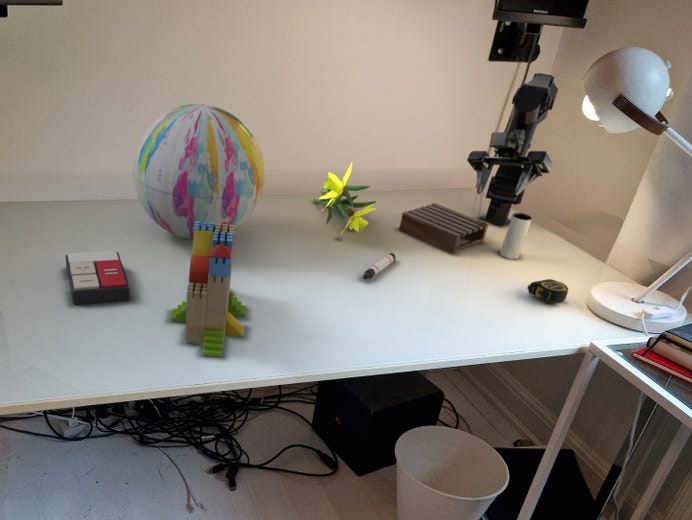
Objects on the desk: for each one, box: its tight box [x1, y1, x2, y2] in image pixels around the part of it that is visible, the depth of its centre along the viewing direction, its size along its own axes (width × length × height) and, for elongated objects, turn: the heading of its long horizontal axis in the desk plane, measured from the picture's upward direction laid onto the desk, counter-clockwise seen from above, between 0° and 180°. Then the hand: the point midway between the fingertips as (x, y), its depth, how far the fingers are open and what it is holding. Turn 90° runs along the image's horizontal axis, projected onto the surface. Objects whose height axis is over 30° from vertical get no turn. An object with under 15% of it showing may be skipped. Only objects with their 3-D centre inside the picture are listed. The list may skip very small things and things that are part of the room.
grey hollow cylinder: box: [499, 212, 533, 260], centre depth 160 cm, size 4×4×10 cm
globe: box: [132, 103, 265, 241], centre depth 149 cm, size 30×30×30 cm
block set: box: [170, 221, 247, 358], centre depth 121 cm, size 28×14×19 cm, turn 178°
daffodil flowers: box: [313, 162, 378, 235], centre depth 166 cm, size 17×15×35 cm
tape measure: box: [526, 278, 569, 304], centre depth 143 cm, size 7×7×4 cm
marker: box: [362, 252, 397, 280], centre depth 148 cm, size 15×2×2 cm, turn 145°
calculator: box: [64, 250, 130, 305], centre depth 132 cm, size 11×4×15 cm
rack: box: [398, 202, 490, 255], centre depth 168 cm, size 14×17×5 cm
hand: (496, 194), depth 155 cm, fingers open, 9 cm apart
